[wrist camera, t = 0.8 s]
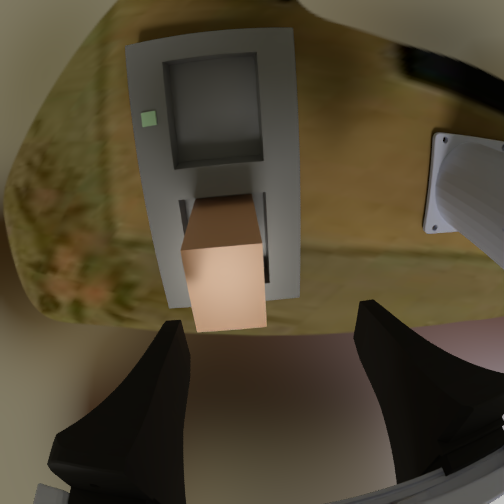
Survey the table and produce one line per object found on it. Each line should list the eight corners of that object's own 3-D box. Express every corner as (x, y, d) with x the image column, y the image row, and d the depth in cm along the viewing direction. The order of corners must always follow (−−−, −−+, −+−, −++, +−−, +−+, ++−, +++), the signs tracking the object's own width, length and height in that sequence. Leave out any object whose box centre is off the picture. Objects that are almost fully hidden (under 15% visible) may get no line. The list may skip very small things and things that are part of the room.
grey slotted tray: (285, 35, 16) (293, 26, 13) (293, 277, 24) (300, 298, 21) (137, 51, 15) (123, 45, 13) (174, 287, 24) (168, 309, 21)
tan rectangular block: (251, 193, 20) (262, 243, 14) (256, 259, 22) (266, 326, 16) (195, 199, 20) (180, 250, 14) (204, 264, 22) (197, 332, 16)
